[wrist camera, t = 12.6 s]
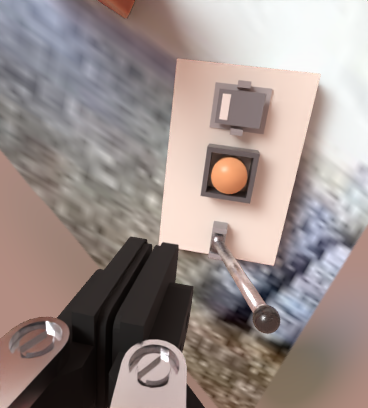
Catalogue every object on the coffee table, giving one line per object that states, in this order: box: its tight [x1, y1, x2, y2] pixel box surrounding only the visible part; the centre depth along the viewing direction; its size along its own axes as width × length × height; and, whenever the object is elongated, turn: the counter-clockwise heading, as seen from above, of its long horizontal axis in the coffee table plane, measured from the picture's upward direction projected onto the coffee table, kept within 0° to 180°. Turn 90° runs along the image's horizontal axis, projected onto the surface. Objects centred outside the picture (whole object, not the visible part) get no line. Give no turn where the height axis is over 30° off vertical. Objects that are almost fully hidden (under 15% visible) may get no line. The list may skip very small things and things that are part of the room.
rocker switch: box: [215, 89, 267, 129], centre depth 29 cm, size 4×3×1 cm
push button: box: [211, 156, 247, 194], centre depth 31 cm, size 4×4×2 cm
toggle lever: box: [209, 232, 280, 334], centre depth 28 cm, size 2×2×14 cm
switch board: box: [159, 58, 321, 266], centre depth 33 cm, size 14×21×6 cm, turn 173°
